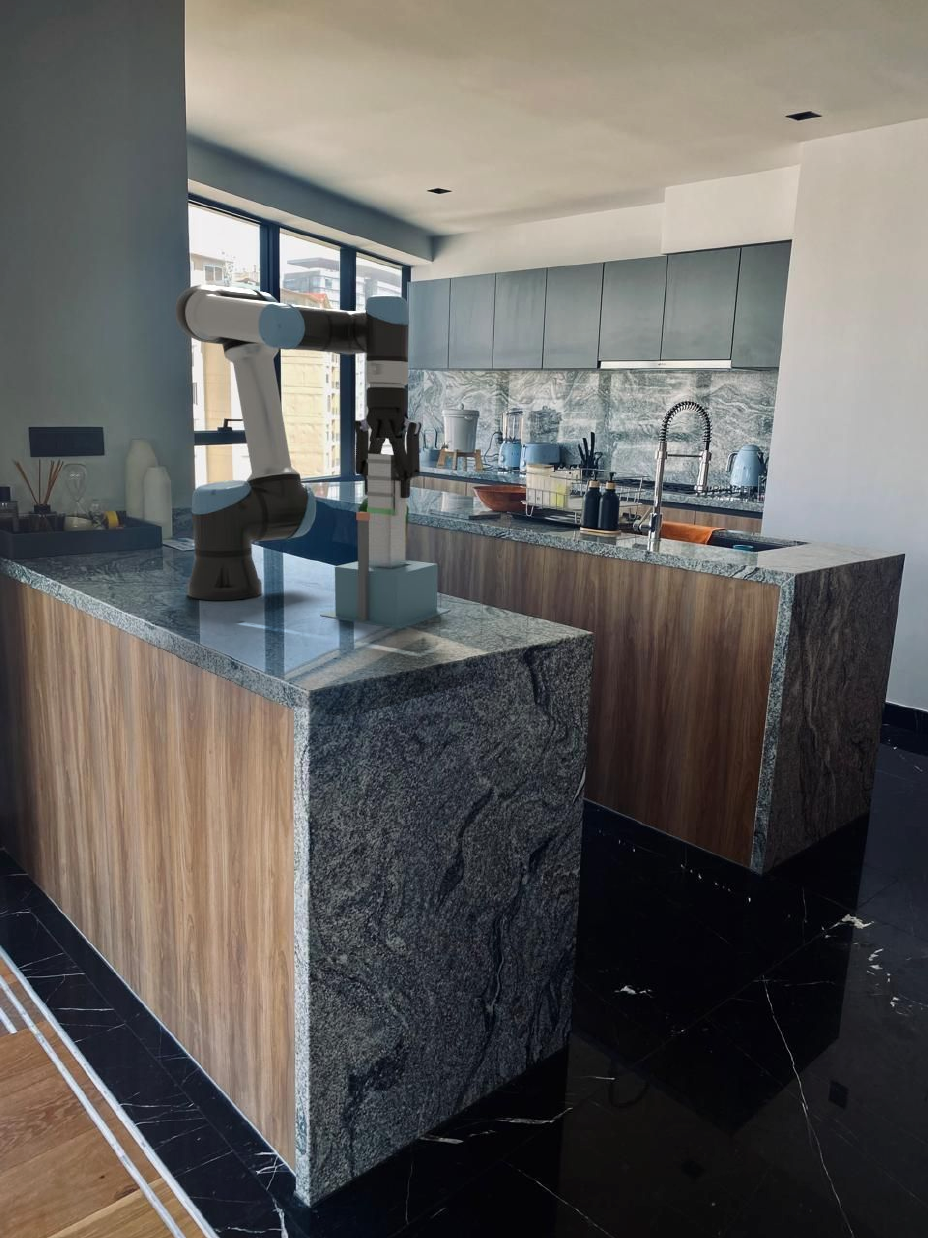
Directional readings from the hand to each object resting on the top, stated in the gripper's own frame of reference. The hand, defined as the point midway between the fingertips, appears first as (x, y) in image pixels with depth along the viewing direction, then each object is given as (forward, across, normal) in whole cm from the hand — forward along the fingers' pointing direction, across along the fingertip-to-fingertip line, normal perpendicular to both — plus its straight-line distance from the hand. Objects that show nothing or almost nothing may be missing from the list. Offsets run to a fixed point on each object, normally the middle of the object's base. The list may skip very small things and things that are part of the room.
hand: (387, 514), depth 164 cm
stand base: (+20, 0, 0) cm, 20 cm away
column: (+11, 0, 0) cm, 11 cm away
